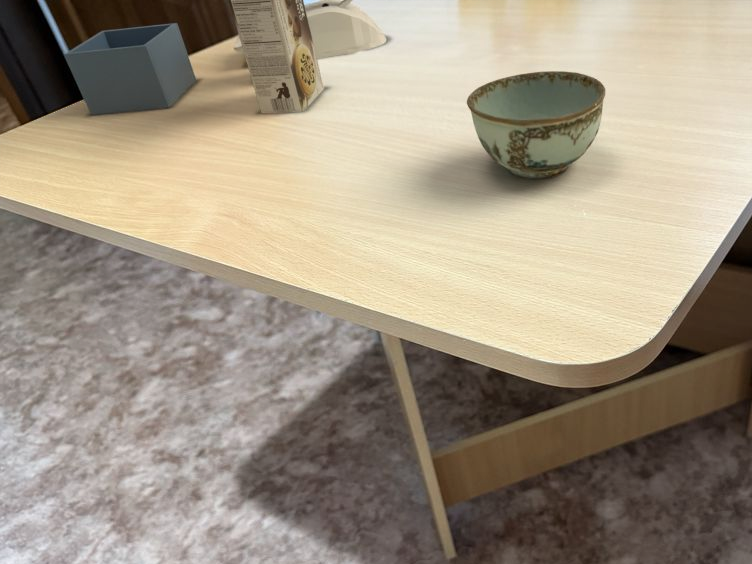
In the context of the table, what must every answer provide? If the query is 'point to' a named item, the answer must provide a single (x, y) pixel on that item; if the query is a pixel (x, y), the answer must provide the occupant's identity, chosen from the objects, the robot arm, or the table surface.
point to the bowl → (537, 120)
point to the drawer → (132, 69)
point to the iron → (338, 29)
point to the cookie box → (278, 53)
